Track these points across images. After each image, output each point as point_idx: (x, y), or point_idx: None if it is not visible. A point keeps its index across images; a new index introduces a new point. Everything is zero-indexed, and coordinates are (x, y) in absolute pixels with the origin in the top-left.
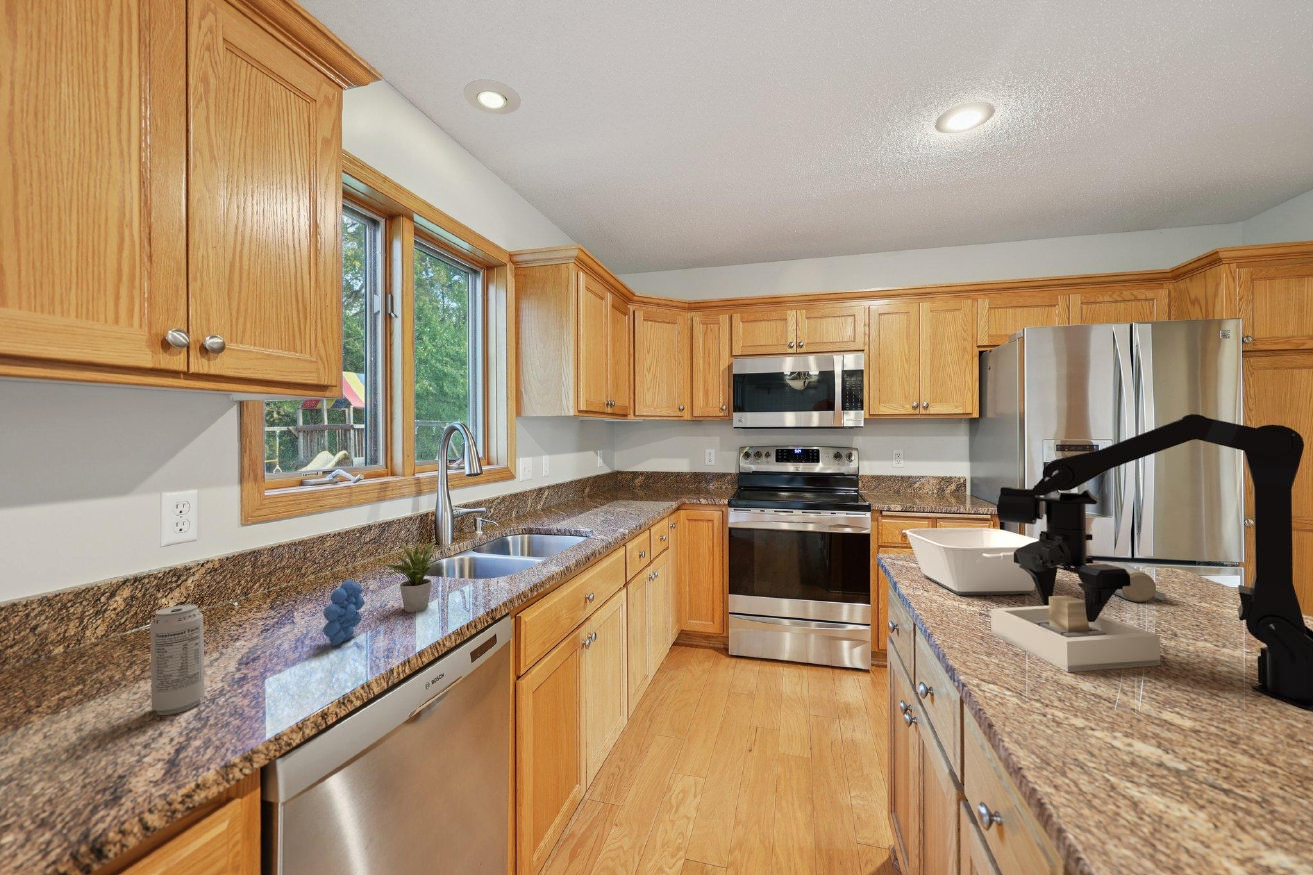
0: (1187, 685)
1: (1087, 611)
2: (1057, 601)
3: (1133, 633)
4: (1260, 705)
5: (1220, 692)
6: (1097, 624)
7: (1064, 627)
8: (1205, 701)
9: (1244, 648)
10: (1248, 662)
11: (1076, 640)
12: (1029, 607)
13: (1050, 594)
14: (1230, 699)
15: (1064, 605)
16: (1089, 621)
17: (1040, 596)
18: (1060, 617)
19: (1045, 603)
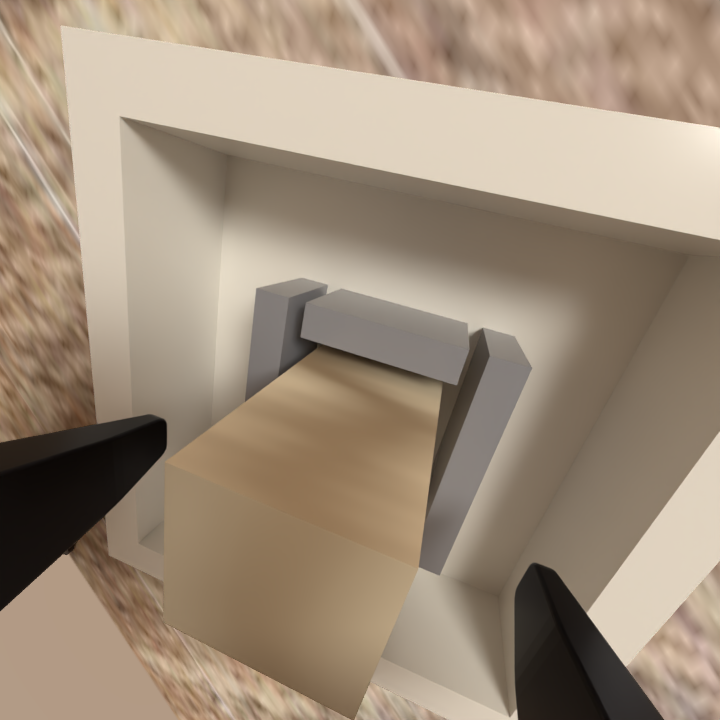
0: (90, 386)
1: (76, 439)
2: (301, 497)
3: (134, 507)
4: (6, 400)
5: (57, 406)
6: None
7: (321, 371)
8: (16, 313)
9: (231, 715)
10: (175, 637)
11: (73, 123)
12: (687, 561)
13: (529, 716)
14: (27, 381)
15: (225, 452)
16: (152, 416)
17: (602, 643)
18: (328, 405)
19: (533, 578)
